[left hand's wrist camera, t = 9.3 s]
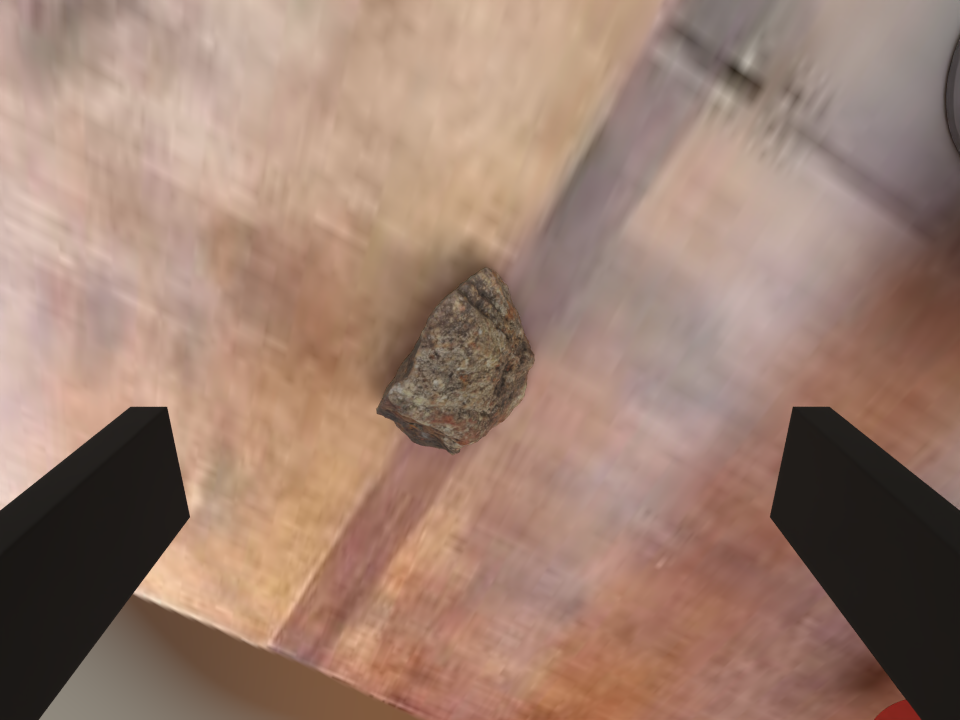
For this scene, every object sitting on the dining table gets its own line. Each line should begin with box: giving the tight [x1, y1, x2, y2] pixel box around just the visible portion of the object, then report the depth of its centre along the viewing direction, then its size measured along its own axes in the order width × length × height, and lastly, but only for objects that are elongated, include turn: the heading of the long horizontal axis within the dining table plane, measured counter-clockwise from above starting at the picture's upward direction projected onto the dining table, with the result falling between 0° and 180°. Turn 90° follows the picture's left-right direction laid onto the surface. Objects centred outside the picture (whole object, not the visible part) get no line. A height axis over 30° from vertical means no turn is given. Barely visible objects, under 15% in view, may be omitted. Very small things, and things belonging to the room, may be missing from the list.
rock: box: [376, 267, 534, 455], centre depth 40 cm, size 14×9×10 cm
